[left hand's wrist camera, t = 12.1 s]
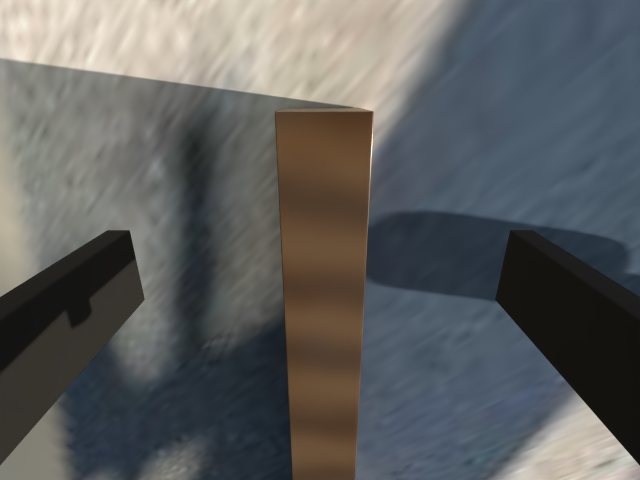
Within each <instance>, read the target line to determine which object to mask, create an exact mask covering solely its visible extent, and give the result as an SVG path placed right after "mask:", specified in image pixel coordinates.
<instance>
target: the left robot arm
mask: <svg viewBox="0 0 640 480" xmlns="http://www.w3.org/2000/svg"><path fill="white" fill-rule="evenodd" d="M144 300H145V299H144V295H143V290H142V285H141V281H140V276H139V271H138V267H137V262H136V258H135V253H134V248H133V244H132V239H131V235H130V230H107V231H106V232H104V233H103V234H101V235H99V236H98V237H96V238H95V239H93V240H91V241H90V242H88V243H86V244H85V245H83V246H82V247H80V248H78V249H77V250H75V251H74V252H72V253H70V254H69V255H67V256H66V257H64V258H62V259H61V260H59V261H58V262H56V263H54V264H53V265H51V266H49V267H48V268H46V269H45V270H43V271H41V272H40V273H38V274H37V275H35V276H33V277H32V278H30V279H29V280H27V281H25V282H24V283H22V284H21V285H19V286H17V287H16V288H14V289H13V290H11V291H9V292H8V293H6V294H4V295H3V296H1V297H0V465H1V464H2V463H3V462H4V460H5V459H6V458H7V457H8V456H9V455H10V453H11V452H12V451H13V450H14V449H15V448H16V446H17V445H18V444H19V443H20V442H21V441H22V440H23V438H24V437H25V436H26V435H27V434H28V433H29V432H30V430H31V429H32V428H33V427H34V426H35V425H36V424H37V422H38V421H39V420H40V419H41V418H42V417H43V416H44V414H45V413H46V412H47V411H48V410H49V409H50V408H51V406H52V405H53V404H54V403H55V402H56V401H57V400H58V398H59V397H60V396H61V395H62V394H63V393H64V391H65V390H66V389H67V388H68V387H69V386H70V385H71V383H72V382H73V381H74V380H75V379H76V378H77V377H78V375H79V374H80V373H81V372H82V371H83V370H84V369H85V367H86V366H87V365H88V364H89V363H90V362H91V360H92V359H93V358H94V357H95V356H96V355H97V354H98V352H99V351H100V350H101V349H102V348H103V347H104V346H105V344H106V343H107V342H108V341H109V340H110V339H111V338H112V336H113V335H114V334H115V333H116V332H117V331H118V330H119V328H120V327H121V326H122V325H123V324H124V323H125V321H126V320H127V319H128V318H129V317H130V316H131V315H132V313H133V312H134V311H135V310H136V309H137V308H138V307H139V305H140V304H141V303H142V302H143V301H144ZM495 300H496V301H497V302H498V303H499V304H500V305H501V307H502V308H503V309H504V310H505V311H506V312H507V313H508V315H509V316H510V317H511V318H512V319H513V320H514V321H515V323H516V324H517V325H518V326H519V327H520V328H521V330H522V331H523V332H524V333H525V334H526V335H527V336H528V338H529V339H530V340H531V341H532V342H533V343H534V344H535V346H536V347H537V348H538V349H539V350H540V351H541V352H542V354H543V355H544V356H545V357H546V358H547V359H548V360H549V362H550V363H551V364H552V365H553V366H554V367H555V369H556V370H557V371H558V372H559V373H560V374H561V375H562V377H563V378H564V379H565V380H566V381H567V382H568V383H569V385H570V386H571V387H572V388H573V389H574V390H575V391H576V393H577V394H578V395H579V396H580V397H581V398H582V400H583V401H584V402H585V403H586V404H587V405H588V406H589V408H590V409H591V410H592V411H593V412H594V413H595V414H596V416H597V417H598V418H599V419H600V420H601V421H602V422H603V424H604V425H605V426H606V427H607V428H608V429H609V431H610V432H611V433H612V434H613V435H614V436H615V437H616V439H617V440H618V441H619V442H620V443H621V444H622V445H623V447H624V448H625V449H626V450H627V451H628V452H629V453H630V455H631V456H632V457H633V458H634V459H635V460H636V462H637V463H638V464H639V465H640V297H639V296H637V295H636V294H634V293H632V292H631V291H629V290H627V289H626V288H624V287H623V286H621V285H619V284H618V283H616V282H615V281H613V280H611V279H610V278H608V277H607V276H605V275H603V274H602V273H600V272H599V271H597V270H595V269H594V268H592V267H590V266H589V265H587V264H586V263H584V262H582V261H581V260H579V259H578V258H576V257H574V256H573V255H571V254H570V253H568V252H566V251H565V250H563V249H562V248H560V247H558V246H557V245H555V244H554V243H552V242H550V241H549V240H547V239H545V238H544V237H542V236H541V235H539V234H537V233H536V232H534V231H533V230H510V235H509V239H508V244H507V248H506V253H505V258H504V262H503V267H502V271H501V276H500V281H499V285H498V290H497V295H496V299H495Z"/></svg>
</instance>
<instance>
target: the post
mask: <svg viewBox="0 0 640 480" xmlns="http://www.w3.org/2000/svg"><path fill="white" fill-rule="evenodd" d="M373 117H374V112H373V111H369V110H365V109H361V108H286V109H283V110H280V111H277V112H275V123H276V143H277V164H278V185H279V206H280V227H281V248H282V269H283V289H284V310H285V331H286V352H287V373H288V394H289V415H290V436H291V456H292V477H293V480H355V468H356V449H357V429H358V410H359V390H360V371H361V351H362V332H363V312H364V293H365V273H366V254H367V234H368V215H369V195H370V176H371V156H372V137H373Z"/></svg>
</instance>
